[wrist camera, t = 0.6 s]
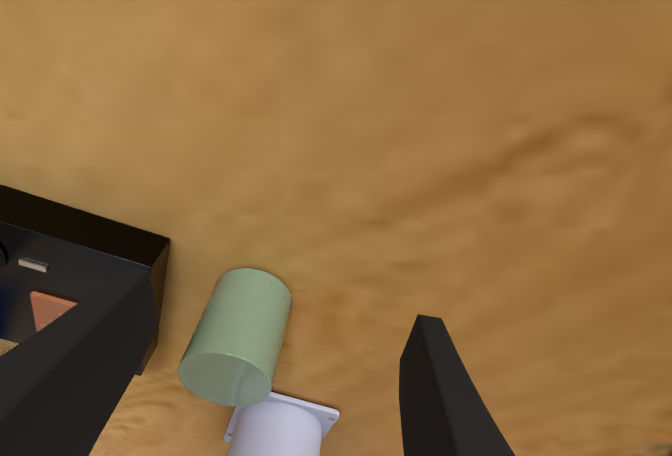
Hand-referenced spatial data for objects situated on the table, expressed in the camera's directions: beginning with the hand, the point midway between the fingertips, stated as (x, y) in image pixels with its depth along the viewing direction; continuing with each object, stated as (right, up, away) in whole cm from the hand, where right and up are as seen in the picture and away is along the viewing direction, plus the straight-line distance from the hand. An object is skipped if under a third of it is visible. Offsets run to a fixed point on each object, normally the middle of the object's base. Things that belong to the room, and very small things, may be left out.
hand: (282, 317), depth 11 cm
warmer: (-15, 0, +14) cm, 21 cm away
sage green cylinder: (-4, -2, +14) cm, 15 cm away
